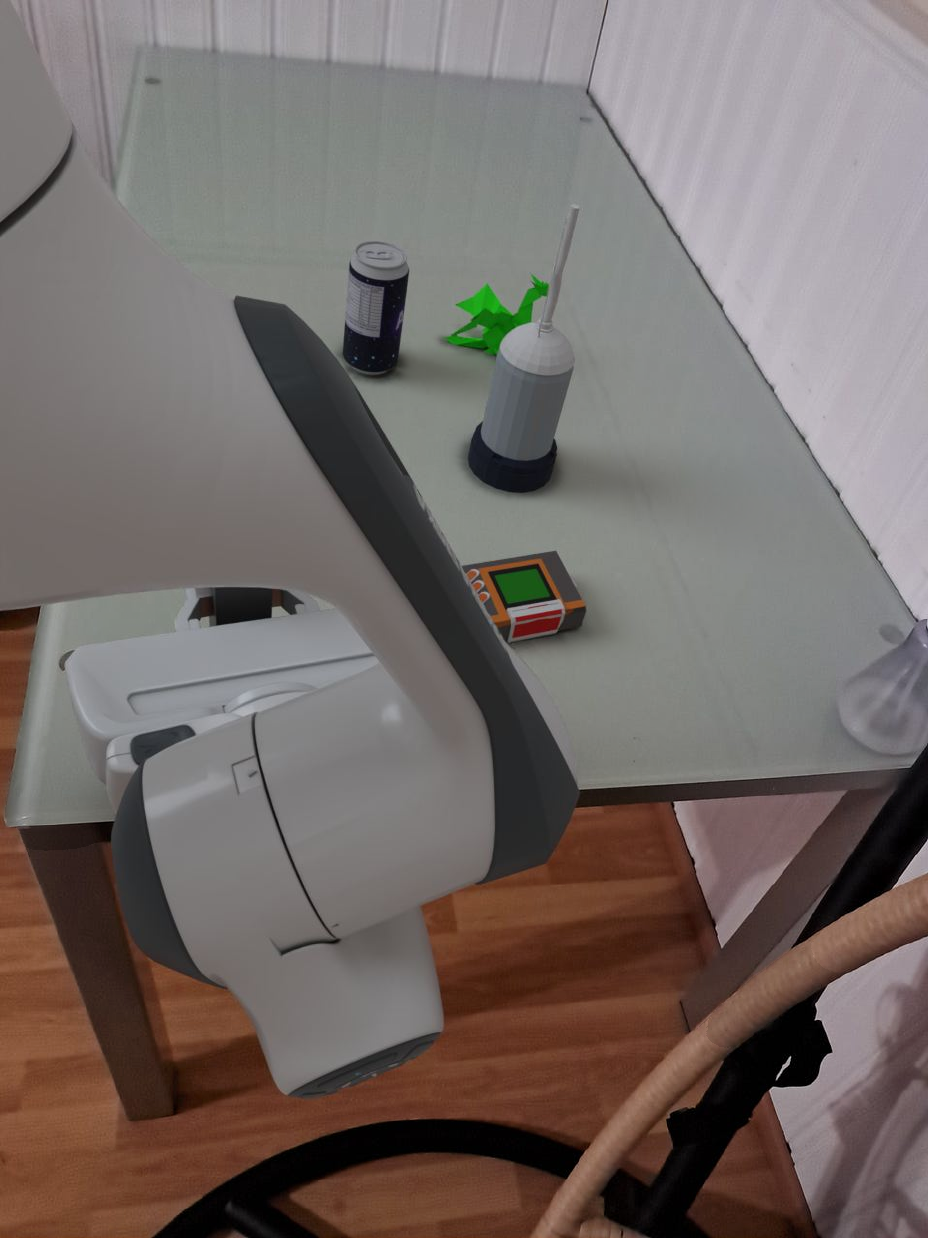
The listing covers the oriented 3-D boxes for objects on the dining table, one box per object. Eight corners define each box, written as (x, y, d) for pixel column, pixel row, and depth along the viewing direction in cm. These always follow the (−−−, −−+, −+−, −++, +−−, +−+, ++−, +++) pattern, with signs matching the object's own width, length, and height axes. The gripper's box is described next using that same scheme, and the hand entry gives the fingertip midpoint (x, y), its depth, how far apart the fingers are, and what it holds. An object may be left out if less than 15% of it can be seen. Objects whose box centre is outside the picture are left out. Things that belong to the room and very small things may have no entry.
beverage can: (399, 381, 97) (414, 271, 88) (343, 378, 96) (352, 266, 87) (394, 349, 100) (407, 241, 92) (340, 346, 99) (348, 236, 90)
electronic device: (386, 574, 75) (560, 546, 79) (384, 599, 77) (554, 571, 81) (410, 639, 71) (592, 606, 75) (408, 663, 73) (585, 630, 77)
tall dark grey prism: (219, 707, 61) (213, 551, 51) (209, 638, 65) (202, 480, 55) (269, 701, 62) (274, 546, 52) (257, 634, 66) (259, 477, 55)
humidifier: (562, 456, 93) (637, 204, 74) (536, 504, 87) (609, 244, 69) (485, 427, 94) (540, 172, 75) (454, 473, 88) (505, 209, 70)
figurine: (554, 372, 101) (558, 291, 95) (442, 370, 102) (438, 290, 95) (554, 340, 105) (558, 261, 99) (446, 340, 106) (443, 261, 100)
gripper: (478, 697, 51) (402, 523, 59) (73, 774, 44) (50, 565, 52) (459, 761, 56) (391, 593, 64) (89, 841, 49) (66, 639, 57)
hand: (235, 580), depth 58 cm, fingers closed on tall dark grey prism, 3 cm apart
